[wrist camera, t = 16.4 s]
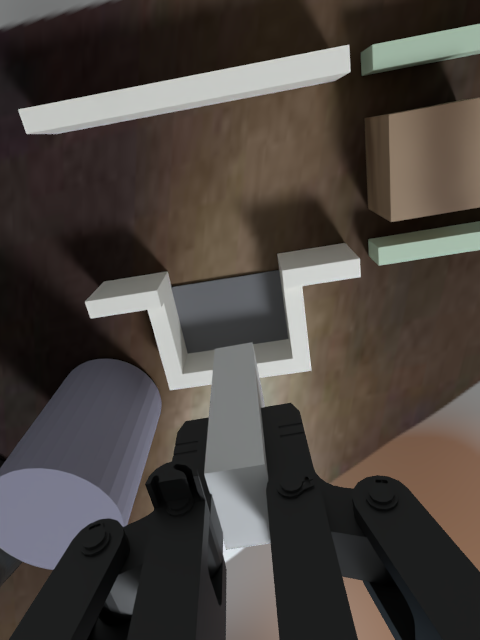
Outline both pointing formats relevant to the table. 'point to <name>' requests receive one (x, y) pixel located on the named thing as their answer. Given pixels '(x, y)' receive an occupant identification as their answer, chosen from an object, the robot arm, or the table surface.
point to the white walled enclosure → (229, 293)
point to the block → (424, 160)
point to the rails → (404, 56)
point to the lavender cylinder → (78, 460)
